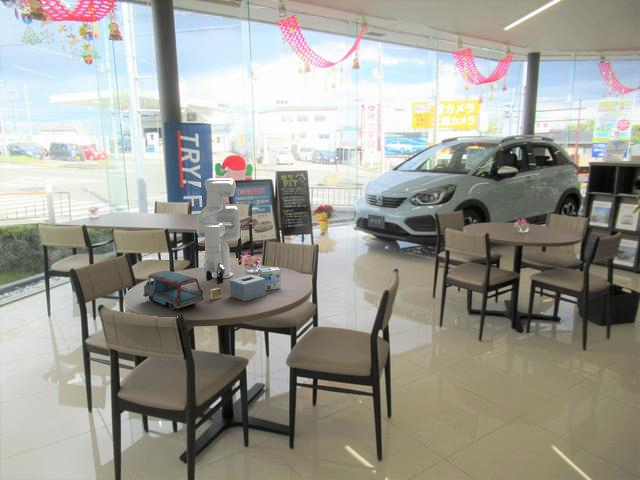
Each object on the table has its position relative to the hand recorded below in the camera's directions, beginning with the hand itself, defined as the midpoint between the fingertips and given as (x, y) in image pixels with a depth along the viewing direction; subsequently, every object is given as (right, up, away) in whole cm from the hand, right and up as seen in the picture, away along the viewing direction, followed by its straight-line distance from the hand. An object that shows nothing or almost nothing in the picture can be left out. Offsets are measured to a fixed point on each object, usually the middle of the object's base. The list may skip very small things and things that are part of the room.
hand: (214, 281), depth 233 cm
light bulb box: (+26, -5, +20) cm, 33 cm away
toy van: (-20, -11, -5) cm, 23 cm away
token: (0, -9, +2) cm, 9 cm away
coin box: (+16, -8, +6) cm, 19 cm away
